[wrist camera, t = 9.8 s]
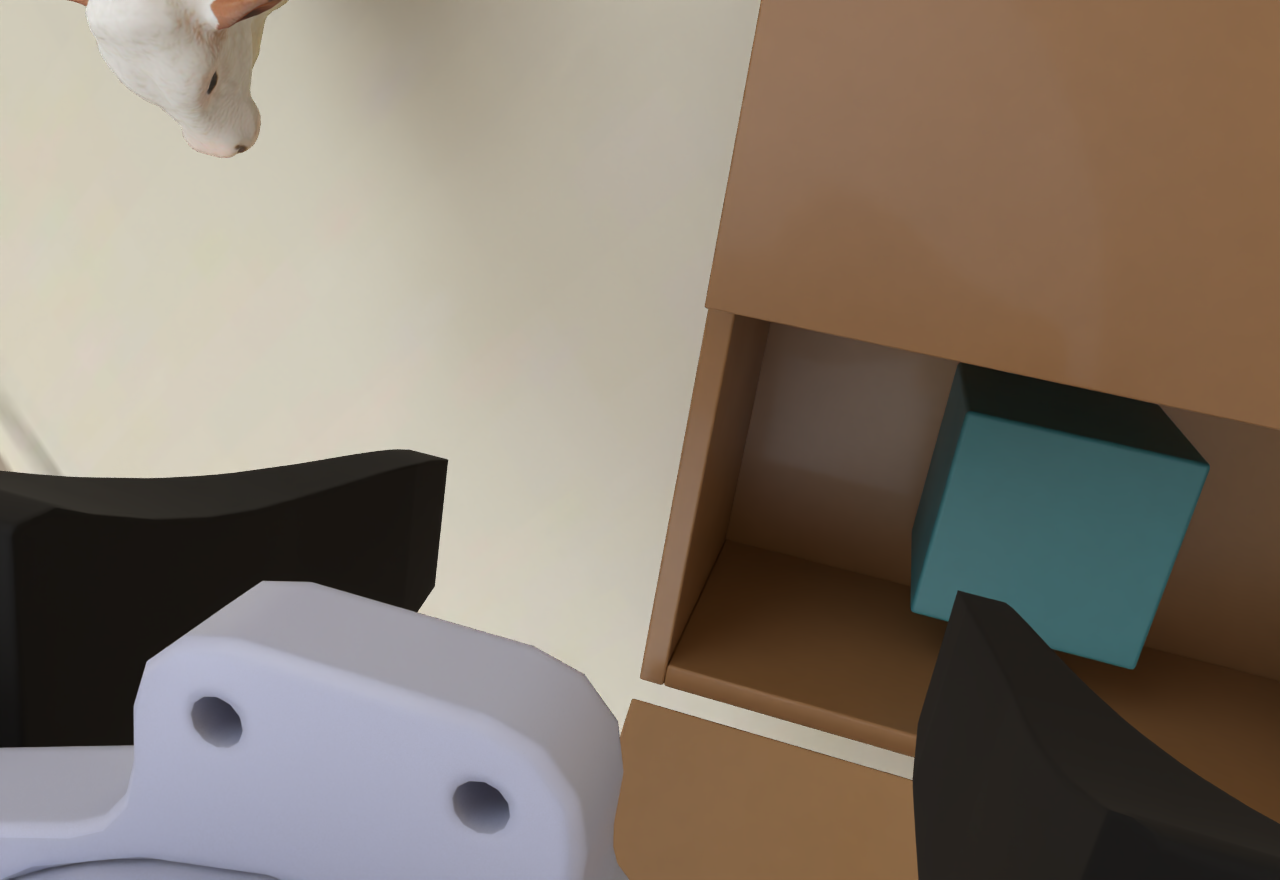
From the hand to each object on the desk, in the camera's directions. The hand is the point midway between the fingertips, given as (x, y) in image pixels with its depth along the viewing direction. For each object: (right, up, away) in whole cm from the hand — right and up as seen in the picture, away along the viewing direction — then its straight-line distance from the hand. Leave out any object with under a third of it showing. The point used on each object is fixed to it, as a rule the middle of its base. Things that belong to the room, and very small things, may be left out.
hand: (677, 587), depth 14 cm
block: (+8, +1, +8) cm, 11 cm away
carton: (+8, +5, +7) cm, 12 cm away
